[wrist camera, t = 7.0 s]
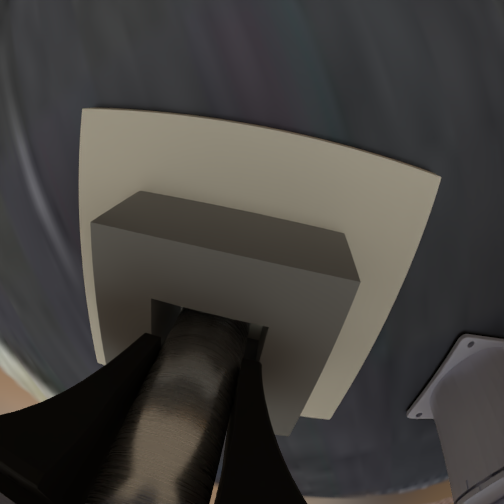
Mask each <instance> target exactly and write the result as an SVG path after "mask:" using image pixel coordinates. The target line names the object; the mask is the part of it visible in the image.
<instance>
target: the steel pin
mask: <svg viewBox="0 0 504 504" xmlns="http://www.w3.org/2000/svg"><path fill="white" fill-rule="evenodd" d="M250 325H251V323H248V322H244V321H239V320H235V319H231V318H226V317H222V316H218V315H214V314H210V313H205V312H201V311H197V310H193V309H189V308H186V307H183V308H182V310H181V312H180V313H179V315H178V317H177V319H176V321H175V323H174V325H173V327H172V328H171V330H170V332H169V334H168V336H167V338H166V340H165V342H164V344H163V345H162V347H161V349H160V351H159V353H158V355H157V357H156V359H155V361H154V363H153V365H152V367H151V369H150V371H149V372H148V374H147V376H146V378H145V380H144V382H143V384H142V386H141V388H140V390H139V392H138V394H137V396H136V398H135V400H134V402H133V404H132V406H131V408H130V410H129V412H128V414H127V416H126V418H125V420H124V422H123V424H122V426H121V428H120V430H119V432H118V434H117V436H116V438H115V441H114V443H113V445H112V447H111V449H110V451H109V453H108V455H107V457H106V459H105V461H104V464H103V466H102V468H101V470H100V472H99V474H98V476H97V478H96V481H95V483H94V485H93V487H92V489H91V491H90V494H89V496H88V498H87V500H86V502H85V504H209V503H210V499H211V495H212V490H213V486H214V482H215V478H216V474H217V470H218V465H219V461H220V457H221V453H222V448H223V444H224V440H225V436H226V431H227V427H228V423H229V418H230V414H231V410H232V405H233V401H234V395H235V389H236V384H237V380H238V376H239V371H240V367H241V363H242V358H243V357H244V352H245V348H246V343H247V339H248V334H249V330H250Z"/></svg>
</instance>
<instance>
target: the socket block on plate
mask: <svg viewBox="0 0 504 504" xmlns="http://www.w3.org/2000/svg"><path fill="white" fill-rule="evenodd" d="M440 180H441V177H440V176H438V175H436V174H434V173H433V172H430V171H427V170H424V169H422V168H419V167H416V166H413V165H410V164H407V163H404V162H401V161H398V160H395V159H392V158H388V157H385V156H382V155H379V154H375V153H372V152H369V151H365V150H362V149H358V148H355V147H351V146H347V145H344V144H340V143H336V142H332V141H328V140H324V139H320V138H316V137H312V136H307V135H303V134H299V133H294V132H290V131H285V130H280V129H275V128H270V127H265V126H260V125H254V124H249V123H243V122H237V121H231V120H224V119H218V118H211V117H204V116H196V115H188V114H179V113H170V112H160V111H148V110H135V109H119V108H84V109H82V120H81V133H80V152H79V219H80V238H81V252H82V264H83V274H84V283H85V291H86V299H87V306H88V313H89V319H90V325H91V331H92V337H93V342H94V348H95V353H96V358H97V362H98V363H100V364H103V365H106V364H107V363H109V362H110V361H111V360H112V359H114V358H115V357H116V356H118V355H119V354H120V353H121V352H123V351H124V350H125V349H126V348H127V347H129V346H130V345H131V344H132V343H133V342H134V341H136V340H137V339H138V338H139V337H140V336H141V335H143V334H144V333H149V334H152V335H155V336H159V337H161V347H162V345H163V344H164V342H165V340H166V338H167V336H168V334H169V332H170V330H171V328H172V327H173V325H174V323H175V321H176V319H177V317H178V315H179V313H180V312H181V310H182V308H183V307H186V308H189V309H193V310H197V311H201V312H205V313H210V314H214V315H218V316H222V317H226V318H231V319H235V320H239V321H244V322H248V323H251V325H250V330H249V334H248V339H247V343H246V348H245V352H244V357H243V358H245V359H249V360H254V361H259V362H260V363H261V364H262V380H263V388H264V395H265V400H266V404H267V409H268V413H269V417H270V421H271V425H272V428H273V431H274V434H276V435H283V436H289V435H290V433H291V431H292V429H293V428H294V426H295V424H296V422H297V420H298V418H299V416H305V417H312V418H320V419H328V420H330V418H331V417H332V415H333V414H334V412H335V410H336V409H337V407H338V406H339V404H340V402H341V401H342V399H343V398H344V396H345V394H346V393H347V391H348V389H349V388H350V386H351V384H352V382H353V381H354V379H355V377H356V375H357V374H358V372H359V370H360V368H361V367H362V365H363V363H364V361H365V359H366V358H367V356H368V354H369V352H370V350H371V348H372V346H373V344H374V342H375V341H376V339H377V337H378V335H379V333H380V331H381V329H382V327H383V325H384V323H385V321H386V319H387V316H388V314H389V312H390V310H391V308H392V306H393V304H394V302H395V299H396V297H397V295H398V293H399V291H400V288H401V286H402V284H403V282H404V279H405V277H406V275H407V272H408V270H409V267H410V265H411V262H412V260H413V258H414V255H415V252H416V250H417V247H418V245H419V242H420V240H421V237H422V234H423V231H424V229H425V226H426V223H427V220H428V217H429V215H430V212H431V209H432V206H433V203H434V200H435V197H436V193H437V190H438V187H439V184H440Z"/></svg>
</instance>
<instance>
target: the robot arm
mask: <svg viewBox="0 0 504 504" xmlns="http://www.w3.org/2000/svg"><path fill="white" fill-rule="evenodd" d="M160 349H161V337H159V336H155V335H152V334H149V333H144V334H143V335H141V336H140V337H139V338H138V339H137V340H136V341H134V342H133V343H132V344H131V345H130V346H129V347H127V348H126V349H125V350H124V351H123V352H121V353H120V354H119V355H118V356H116V357H115V358H114V359H112V360H111V361H110V362H109V363H107V364H106V365H105V366H103V367H102V368H101V369H99V370H98V371H96V372H95V373H93V374H92V375H90V376H89V377H87V378H86V379H84V380H83V381H81V382H80V383H78V384H76V385H75V386H73V387H71V388H69V389H68V390H66V391H64V392H62V393H60V394H58V395H56V396H54V397H52V398H50V399H47V400H45V401H43V402H40V403H38V404H35V405H32V406H30V407H27V408H24V409H21V410H18V411H15V412H11V413H7V414H3V415H0V504H85V502H86V500H87V498H88V496H89V494H90V491H91V489H92V487H93V485H94V483H95V481H96V478H97V476H98V474H99V472H100V470H101V468H102V466H103V464H104V461H105V459H106V457H107V455H108V453H109V451H110V449H111V447H112V445H113V443H114V441H115V438H116V436H117V434H118V432H119V430H120V428H121V426H122V424H123V422H124V420H125V418H126V416H127V414H128V412H129V410H130V408H131V406H132V404H133V402H134V400H135V398H136V396H137V394H138V392H139V390H140V388H141V386H142V384H143V382H144V380H145V378H146V376H147V374H148V372H149V371H150V369H151V367H152V365H153V363H154V361H155V359H156V357H157V355H158V353H159V351H160ZM407 417H408V418H414V419H434V421H435V424H436V428H437V432H438V435H439V439H440V443H441V447H442V451H443V455H444V459H445V463H446V467H447V472H448V476H449V481H450V485H451V491H452V496H453V501H454V504H504V339H500V338H493V337H486V336H479V335H472V334H464V335H462V336H460V337H459V339H458V340H457V342H456V343H455V345H454V346H453V348H452V350H451V351H450V353H449V354H448V356H447V357H446V359H445V360H444V362H443V363H442V365H441V366H440V368H439V369H438V371H437V372H436V373H435V375H434V376H433V378H432V379H431V381H430V382H429V383H428V385H427V386H426V387H425V389H424V390H423V391H422V393H421V394H420V395H419V397H418V398H417V399H416V401H415V402H414V403H413V405H412V406H411V407H410V408H409V410H408V411H407ZM214 504H307V503H306V501H305V499H304V498H303V496H302V494H301V493H300V491H299V489H298V487H297V485H296V483H295V481H294V480H293V478H292V476H291V474H290V472H289V470H288V468H287V465H286V463H285V461H284V459H283V456H282V454H281V451H280V449H279V446H278V443H277V440H276V437H275V434H274V431H273V428H272V425H271V421H270V417H269V413H268V409H267V404H266V400H265V395H264V388H263V380H262V364H261V363H260V362H259V361H254V360H249V359H245V358H242V363H241V367H240V371H239V376H238V380H237V384H236V389H235V395H234V401H233V405H232V410H231V414H230V418H229V423H228V427H227V435H226V443H225V451H224V459H223V466H222V472H221V477H220V482H219V486H218V490H217V494H216V499H215V503H214Z"/></svg>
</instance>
